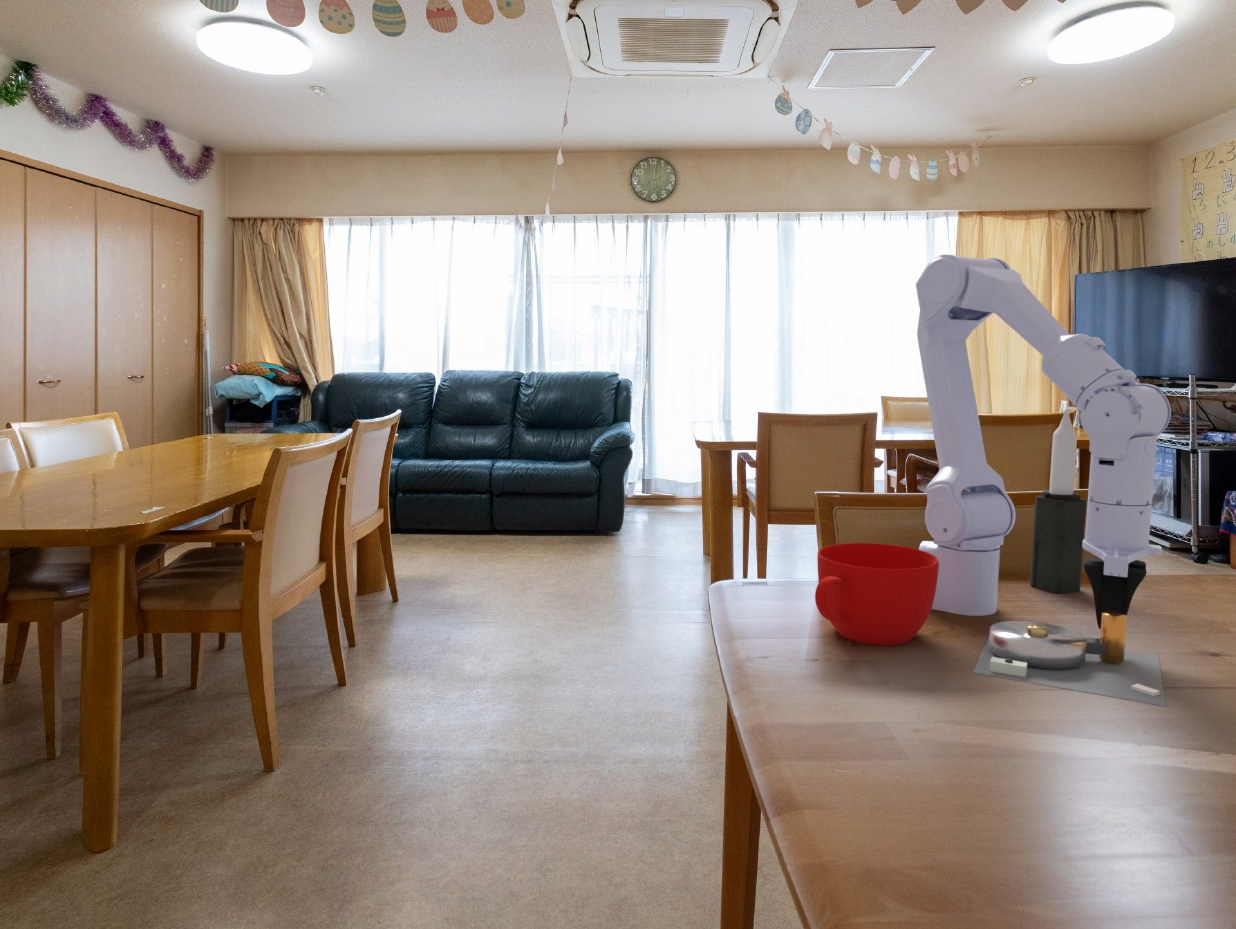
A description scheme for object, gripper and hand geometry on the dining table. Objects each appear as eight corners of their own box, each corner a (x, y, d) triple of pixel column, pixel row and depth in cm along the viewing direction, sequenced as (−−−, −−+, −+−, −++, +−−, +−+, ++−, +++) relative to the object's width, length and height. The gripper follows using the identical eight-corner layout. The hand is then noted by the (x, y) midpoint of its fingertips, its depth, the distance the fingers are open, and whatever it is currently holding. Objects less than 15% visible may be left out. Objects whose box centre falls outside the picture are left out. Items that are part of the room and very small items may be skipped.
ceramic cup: (768, 646, 93) (770, 558, 92) (857, 617, 104) (860, 538, 102) (870, 680, 83) (874, 582, 82) (957, 644, 94) (961, 556, 93)
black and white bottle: (1026, 584, 119) (1037, 408, 116) (1054, 581, 121) (1066, 408, 117) (1054, 593, 114) (1066, 410, 111) (1084, 590, 116) (1097, 410, 113)
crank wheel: (996, 663, 84) (999, 618, 84) (982, 635, 93) (985, 594, 92) (1137, 675, 81) (1141, 628, 80) (1110, 645, 89) (1113, 602, 89)
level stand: (972, 682, 83) (973, 659, 82) (990, 639, 95) (992, 619, 95) (1165, 716, 75) (1167, 691, 74) (1157, 664, 87) (1159, 642, 87)
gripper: (1169, 516, 79) (1158, 655, 80) (1161, 495, 91) (1151, 616, 93) (1083, 509, 82) (1074, 643, 84) (1087, 490, 95) (1078, 607, 96)
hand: (1109, 628), depth 88 cm, fingers closed
